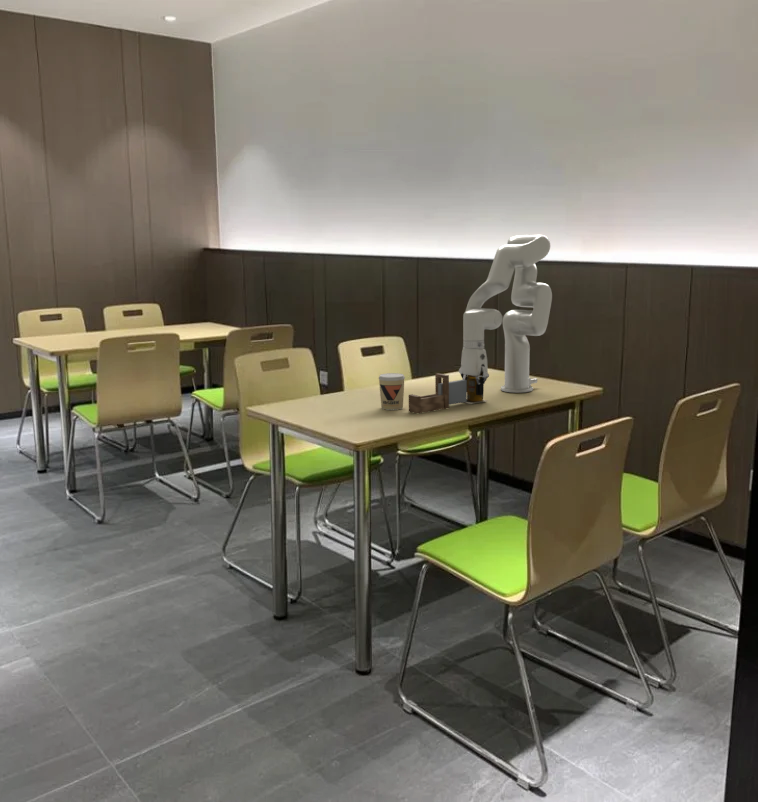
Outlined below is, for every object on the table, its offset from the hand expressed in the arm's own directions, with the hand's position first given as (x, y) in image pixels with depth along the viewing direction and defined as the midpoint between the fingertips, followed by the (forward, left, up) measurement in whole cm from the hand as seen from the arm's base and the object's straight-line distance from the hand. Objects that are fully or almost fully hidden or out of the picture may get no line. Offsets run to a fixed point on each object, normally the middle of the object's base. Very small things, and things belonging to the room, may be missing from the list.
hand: (473, 392), depth 290 cm
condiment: (0, 0, -3) cm, 3 cm away
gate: (+10, 0, -3) cm, 11 cm away
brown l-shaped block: (+20, 0, -3) cm, 20 cm away
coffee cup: (+29, -11, -4) cm, 31 cm away
